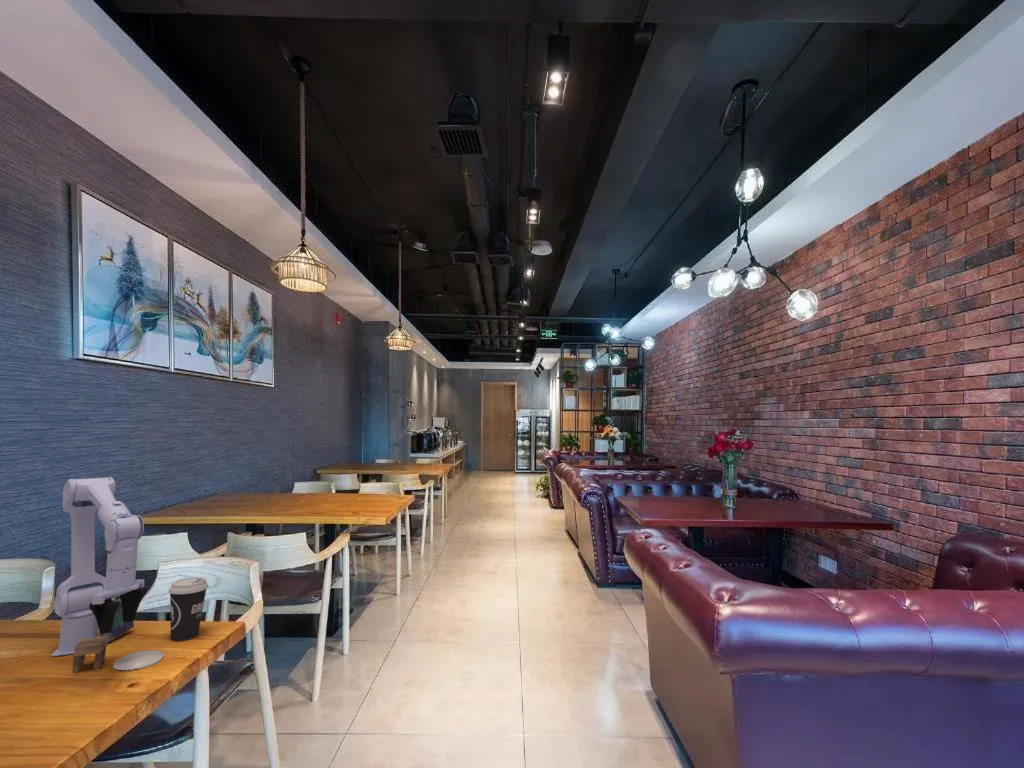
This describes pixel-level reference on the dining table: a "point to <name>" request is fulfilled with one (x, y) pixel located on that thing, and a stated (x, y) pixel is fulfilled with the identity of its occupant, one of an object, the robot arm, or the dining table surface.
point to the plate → (138, 660)
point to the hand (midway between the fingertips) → (117, 627)
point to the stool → (89, 652)
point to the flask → (118, 625)
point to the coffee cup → (186, 607)
